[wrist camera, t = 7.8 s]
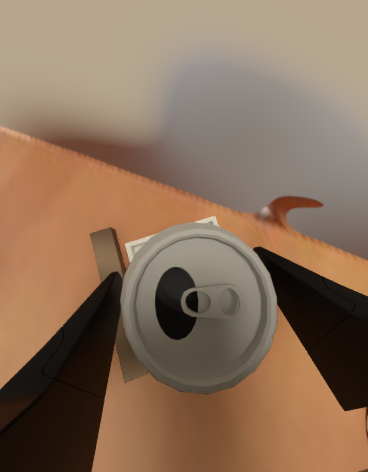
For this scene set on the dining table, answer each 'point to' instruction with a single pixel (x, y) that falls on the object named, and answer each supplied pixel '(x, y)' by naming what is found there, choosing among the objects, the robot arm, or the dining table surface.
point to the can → (198, 308)
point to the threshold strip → (111, 262)
